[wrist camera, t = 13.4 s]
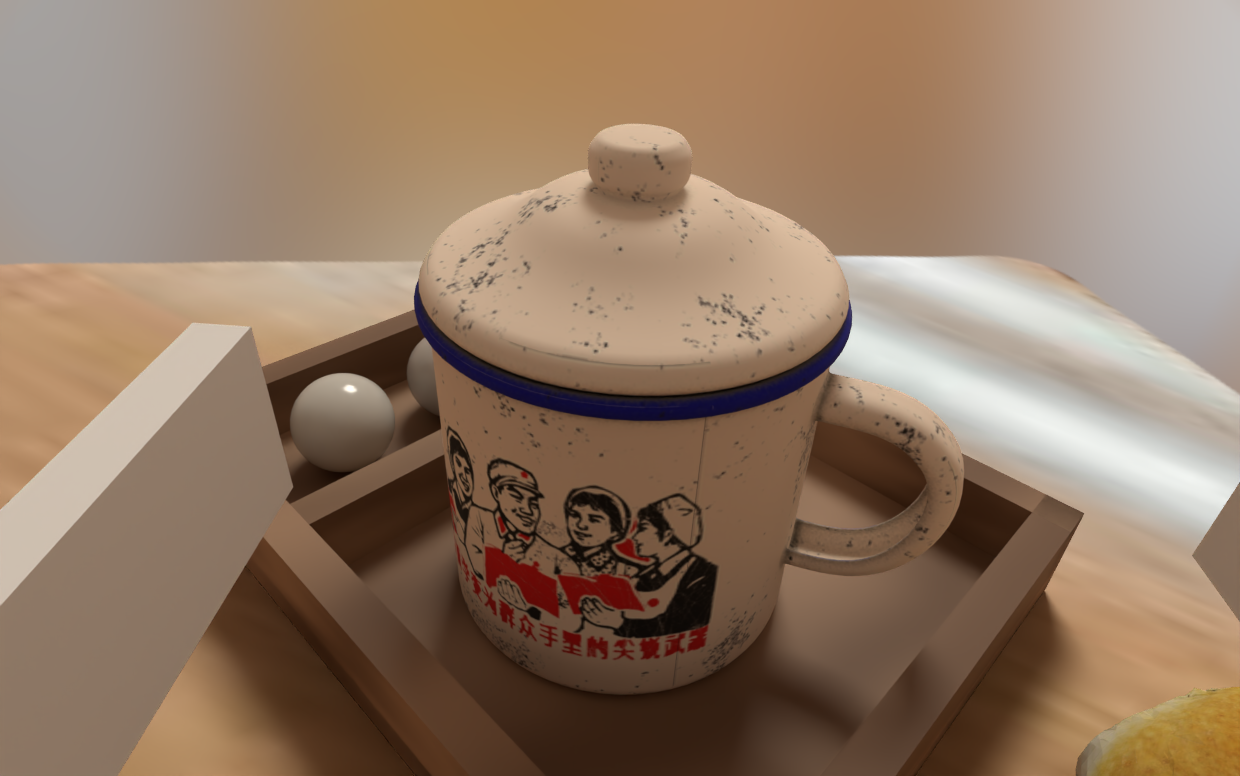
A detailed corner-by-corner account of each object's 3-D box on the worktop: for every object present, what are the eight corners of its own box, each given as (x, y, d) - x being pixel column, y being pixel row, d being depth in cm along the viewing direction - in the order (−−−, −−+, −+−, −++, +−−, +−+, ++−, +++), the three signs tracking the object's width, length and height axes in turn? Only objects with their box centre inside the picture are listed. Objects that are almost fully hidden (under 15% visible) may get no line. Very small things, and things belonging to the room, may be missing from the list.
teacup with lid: (378, 629, 19) (278, 167, 13) (548, 426, 26) (540, 59, 20) (871, 834, 16) (1089, 336, 9) (917, 536, 23) (1061, 131, 16)
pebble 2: (394, 407, 27) (383, 332, 25) (466, 375, 29) (459, 302, 27) (446, 448, 25) (437, 370, 24) (518, 411, 27) (515, 336, 25)
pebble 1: (282, 459, 25) (261, 379, 23) (368, 419, 26) (354, 343, 25) (331, 508, 23) (312, 425, 21) (419, 462, 25) (408, 383, 23)
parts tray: (180, 485, 25) (151, 408, 23) (558, 317, 34) (558, 255, 33) (684, 1106, 13) (702, 1044, 11) (1045, 589, 23) (1084, 513, 21)
